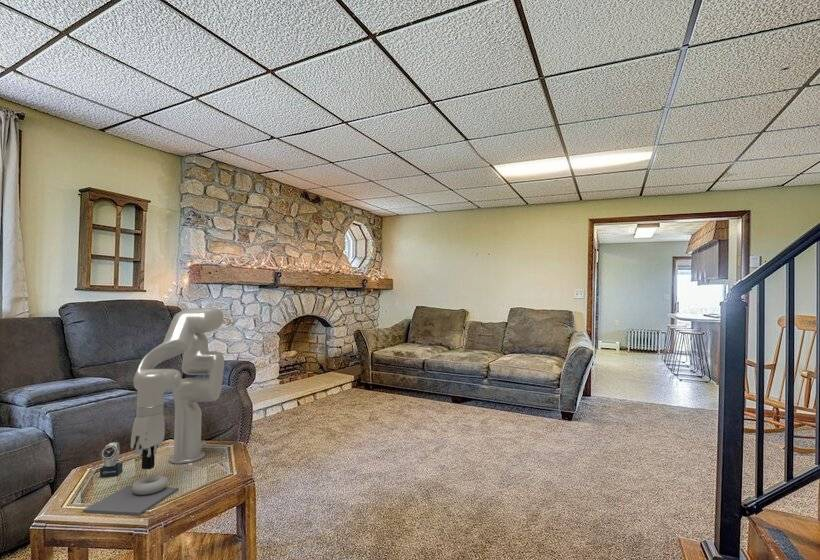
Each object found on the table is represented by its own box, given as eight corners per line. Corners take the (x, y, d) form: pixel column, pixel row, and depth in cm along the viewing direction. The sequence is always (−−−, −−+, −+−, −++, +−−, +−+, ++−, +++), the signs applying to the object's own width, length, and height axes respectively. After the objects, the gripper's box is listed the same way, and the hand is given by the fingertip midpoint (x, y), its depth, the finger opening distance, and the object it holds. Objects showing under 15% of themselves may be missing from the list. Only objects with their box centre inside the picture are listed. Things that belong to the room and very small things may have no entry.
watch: (97, 479, 147) (98, 447, 147) (107, 471, 154) (108, 440, 155) (115, 478, 148) (117, 446, 149) (124, 469, 156) (125, 439, 157)
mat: (127, 488, 140) (128, 485, 140) (178, 490, 138) (178, 487, 138) (82, 512, 123) (82, 509, 123) (139, 515, 121) (139, 512, 121)
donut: (143, 484, 141) (124, 497, 131) (143, 473, 141) (124, 485, 131) (173, 483, 141) (157, 496, 131) (174, 473, 141) (157, 484, 132)
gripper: (155, 405, 146) (153, 459, 144) (121, 416, 131) (119, 477, 129) (175, 405, 145) (174, 460, 143) (143, 416, 130) (141, 477, 129)
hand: (147, 468), depth 136 cm, fingers closed
